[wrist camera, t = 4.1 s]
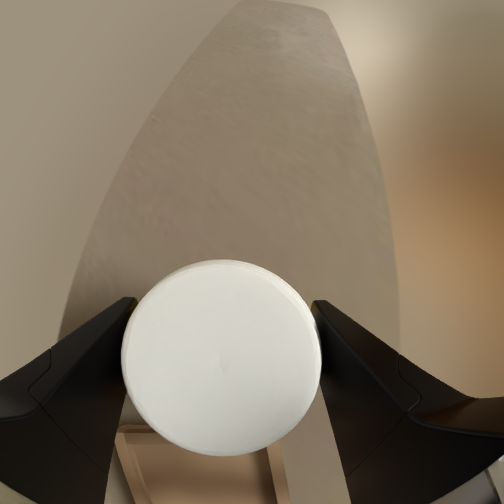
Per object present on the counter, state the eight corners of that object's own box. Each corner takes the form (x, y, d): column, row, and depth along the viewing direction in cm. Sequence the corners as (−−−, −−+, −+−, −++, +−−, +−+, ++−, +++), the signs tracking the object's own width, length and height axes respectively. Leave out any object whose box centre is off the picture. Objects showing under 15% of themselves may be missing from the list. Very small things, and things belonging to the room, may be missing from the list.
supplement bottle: (162, 316, 15) (63, 264, 5) (257, 287, 16) (302, 193, 6) (193, 411, 13) (142, 506, 4) (290, 380, 14) (389, 427, 5)
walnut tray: (290, 519, 13) (296, 533, 11) (159, 529, 12) (154, 542, 10) (270, 411, 16) (275, 419, 14) (122, 424, 15) (112, 432, 13)
